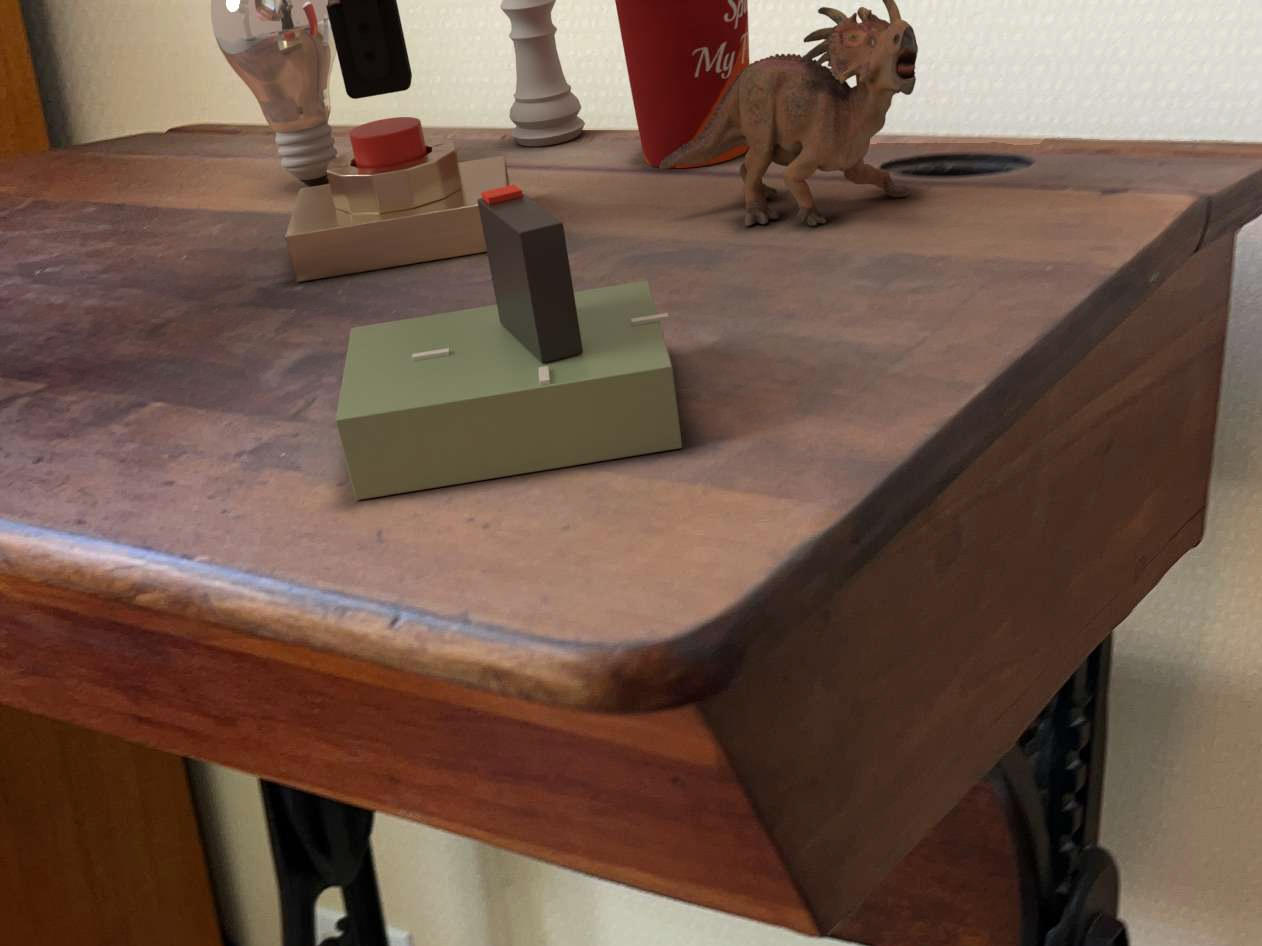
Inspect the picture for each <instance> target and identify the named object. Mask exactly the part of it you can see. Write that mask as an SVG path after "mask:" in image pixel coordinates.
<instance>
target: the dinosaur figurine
mask: <svg viewBox="0 0 1262 946" xmlns="http://www.w3.org/2000/svg"><path fill="white" fill-rule="evenodd" d="M882 2H883V4H884V5H885V8H886V10H887V13H888V18H889V21H887V20H885V19H881V18H879V17H878V16H877V15H876V14H873V11H872V9H868V8H866V7H864V6H860V7H859V8H858V9H857V11H856V12H854V13H853V14H851V16H849V17H848V16H847V15H846V14H845V13H843V11H841V10H839V9H836V8H833V7H826V6H822V7H820V8H818V9H817V13H818V14H819V15H823V16H826V17H828V18H829V19H830V20H832V21H833V22H834V23H835V24H836V25H834V26H833V27H824V28H819V29H816V30H814V31H812V32H810V33H809V34H808V35H806V36H805V37H804V38H803V43H810V42H817V41H819V42H820V41H822V42H820V43H818V44H817V45H815V46H814V47H813V48H812V49H810V50H809V51H807V53H806V54H804V55H803V56H801V54H796V53H792V54H791V53H786V54H784V53H781V54H779V53H775V55H769V57H765V58H760V59H759V60H755V61H754V62H751V63H749V64H750V66H747V67H746V70H744V69H742V70H741V74H740V73H737V78H734V79H733V80H734V83H730V88H729V89H727V92H726V93H724V94H723V98H722V99H721V103H720V104H718V105H717V109H716V110H714V115H712V116H711V120H709V121H708V123H707V125H706V126H705V127H704V130H703V131H702V132H701V133H700V134H698V137H697V138H695V139H694V141H690V142H688V144H684V145H682V147H681V148H679V149H678V150H677V151H674V152H673V153H672V154H670V155H669V156H668V157H665V159H664V160H663V161H662V162H661V165H660V167H659V169H660V170H662V171H665V170H667V169H671V168H670V167H672V166H676V165H695V164H702V163H706V162H708V161H710V160H712V159H714V158H715V157H717V156H720V155H722V154H724V153H725V152H727V151H729V150H731V149H733V148H735V147H739V146H743V145H744V146H748V147H750V148H749V150H748V151H747V152H746V154H745V156H744V162H743V163H742V164H741V165H740V167H739V168H740V169H739V176H740V178H741V179H742V182H743V188H742V191H743V195H744V200H745V212H746V213H745V214H746V215H745V217H744V225H745V226H748V227H749V226H752V225H754V224H755V223H759V224H761V225H765V224H768V222H769V220H776V219H778V218H779V216H780V214H779V212H778V211H777V210H775V209H773V208H770V207H769V202H768V201H767V199H774V198H776V195H778V193H779V192H778V190H777V189H776V188H774V187H771V186H768V185H767V184H766V183H764V182H763V179H762V178H763V177H764V176H765V174H766V173H767V171H768V169H769V167H770V166H771V164H772V163H774V164H776V165H779V166H783V167H785V168H784V170H783V171H782V179H783V182H784V184H785V186H786V188H787V189H788V191H789V193H791V194H792V196H793V197H794V199H795V200H796V202H797V205H798V209H799V210H798V212H797V218H800V220H801V223H805V222H806V223H807V224H808V226H812V227H816V226H817V225H818V224H826V223H827V220H828V219H829V218H830V215H829V214H827V213H825V212H820V211H819V210H818V209H817V207H816V204H815V200H814V198H813V195H812V193H811V189H810V187H809V184H808V182H807V181H806V180H807V179H809V178H811V177H812V176H813V175H814V174H815V173H816V171H817V170H819V171H821V172H825V173H826V172H827V173H830V172H837V171H840V172H843V176H844V178H845V179H846V180H848V181H850V182H852V183H854V184H855V185H861V186H862V185H872V186H875V187H877V188H878V189H879V188H880V189H883V191H884V193H886V195H888V196H889V197H891V198H903V197H907V196H909V193H910V192H912V189H911V188H910V187H909V186H907V187H906V185H901V184H898V185H897V184H895V183H894V182H893V179H892V178H891V174H890V172H889V171H888V170H885V169H880V168H877V167H875V166H873V165H871V164H869V163H865V160H864V158H865V157H866V156H867V154H868V152H869V148H870V145H871V139H872V138H873V137H874V136H875V135H876V134H878V133H879V132H880V131H881V130H882V129H883V128H884V126H885V124H886V120H887V119H886V115H887V114H888V111H889V109H890V108H891V106H892V102H893V101H892V100H893V97H894V96H895V95H896V94H900V93H902V94H904V95H906V96H909V95H911V94H912V93H913V92H914V89H915V86H916V82H917V81H916V80H917V77H916V72H915V71H916V70H915V69H916V62H917V58H918V53H919V46H918V43H917V38H916V34H915V30H914V28H913V26H912V25H911V24H909V23H908V22H907V21H906V20H903V19H902V17H901V13H900V10H899V6H898V5H897V3H896V1H895V0H882ZM857 17H858V18H859V19H860V21H861V22H858V20H857ZM819 56H820V57H819ZM817 57H819V58H818V60H817V59H815V58H817ZM826 62H827V65H822V64H824V63H826ZM854 76H855V82H856V85H853V86H852V87H851V86H850V85H849V83H848V82H847V80H848V79H850V78H852V77H854Z"/></svg>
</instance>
